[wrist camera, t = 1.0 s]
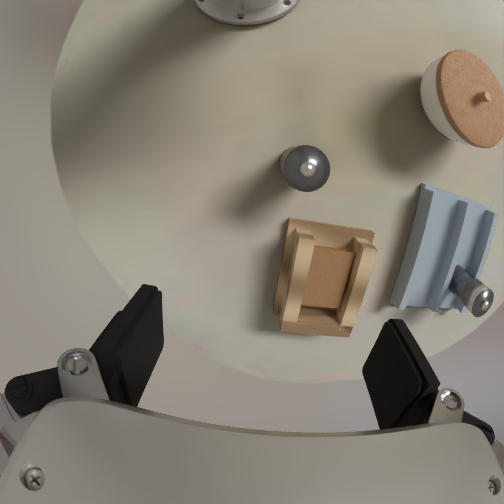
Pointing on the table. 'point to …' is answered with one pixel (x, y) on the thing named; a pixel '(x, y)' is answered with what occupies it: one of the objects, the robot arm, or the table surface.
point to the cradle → (296, 272)
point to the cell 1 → (305, 167)
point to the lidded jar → (464, 99)
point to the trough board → (442, 249)
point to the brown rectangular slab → (327, 276)
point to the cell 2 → (470, 291)
